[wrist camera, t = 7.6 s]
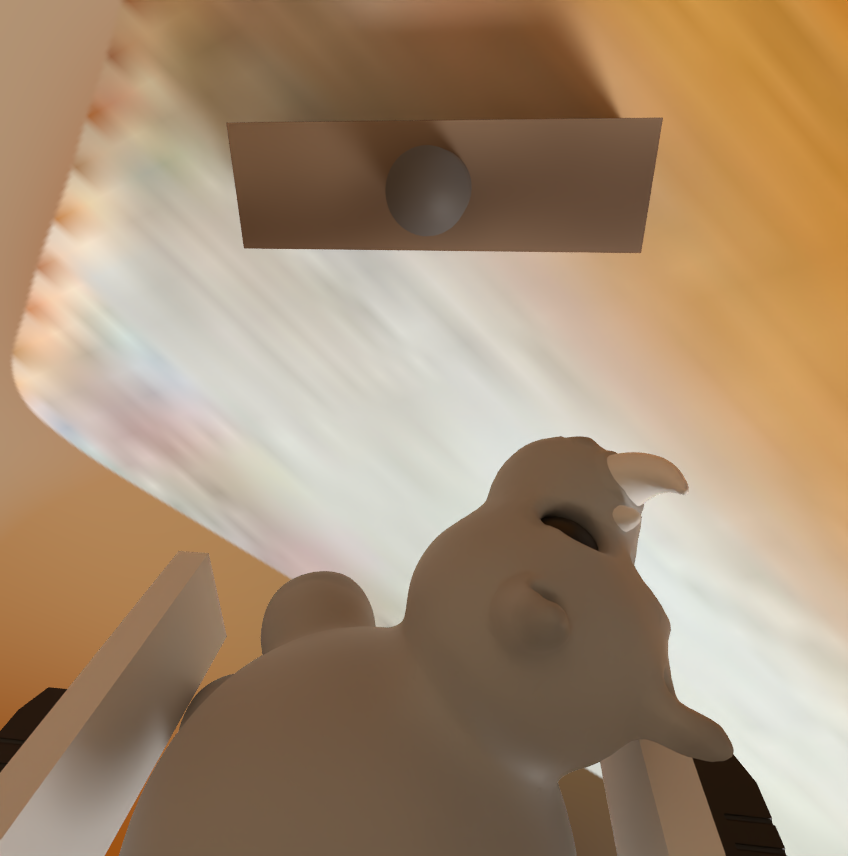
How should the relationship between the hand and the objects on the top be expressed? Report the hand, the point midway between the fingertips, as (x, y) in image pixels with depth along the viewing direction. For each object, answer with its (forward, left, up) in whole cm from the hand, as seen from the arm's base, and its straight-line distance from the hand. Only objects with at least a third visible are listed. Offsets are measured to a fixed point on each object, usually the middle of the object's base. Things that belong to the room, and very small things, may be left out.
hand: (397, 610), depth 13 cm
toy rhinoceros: (-1, +1, 0) cm, 1 cm away
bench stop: (-9, 0, -15) cm, 18 cm away
